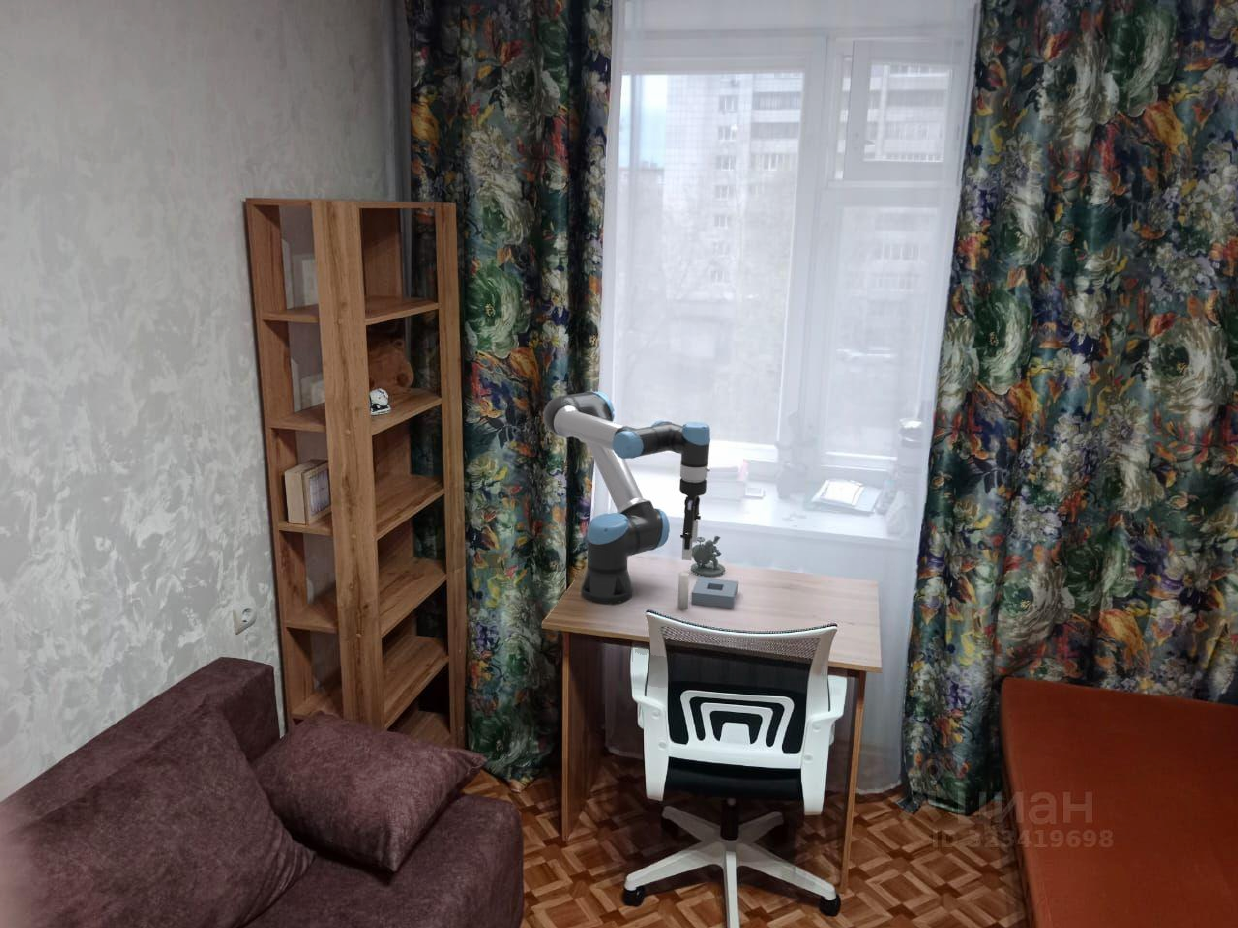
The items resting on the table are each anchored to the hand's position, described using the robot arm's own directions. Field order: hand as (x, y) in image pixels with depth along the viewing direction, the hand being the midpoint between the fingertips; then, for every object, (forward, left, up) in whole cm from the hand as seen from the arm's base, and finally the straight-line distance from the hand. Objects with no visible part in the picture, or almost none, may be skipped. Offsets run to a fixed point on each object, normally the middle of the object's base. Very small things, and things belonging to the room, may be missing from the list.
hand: (689, 550), depth 259 cm
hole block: (+7, +8, -17) cm, 20 cm away
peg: (-1, -1, -17) cm, 17 cm away
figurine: (+2, +28, -17) cm, 32 cm away
